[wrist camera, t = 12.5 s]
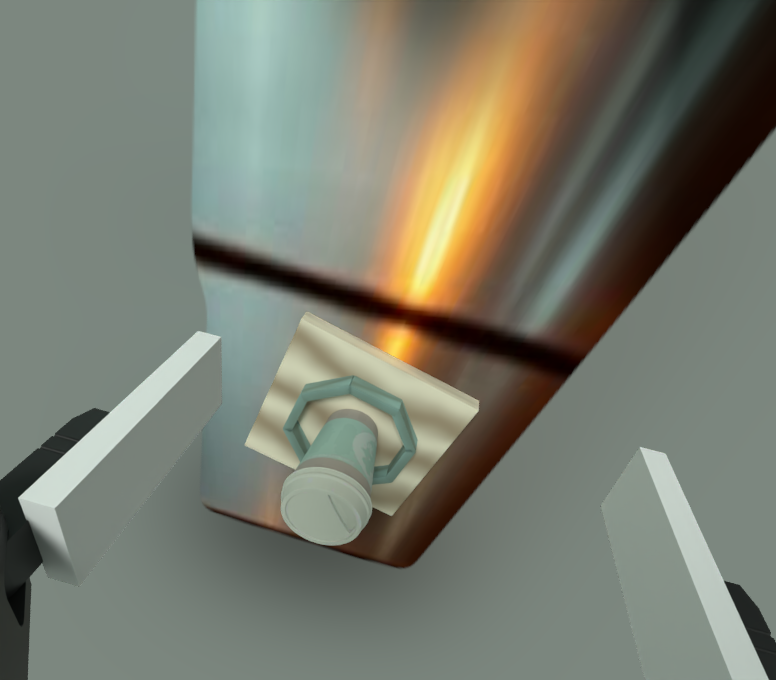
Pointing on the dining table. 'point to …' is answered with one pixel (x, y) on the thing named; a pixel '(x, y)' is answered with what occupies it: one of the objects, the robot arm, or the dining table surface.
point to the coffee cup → (333, 481)
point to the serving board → (360, 407)
